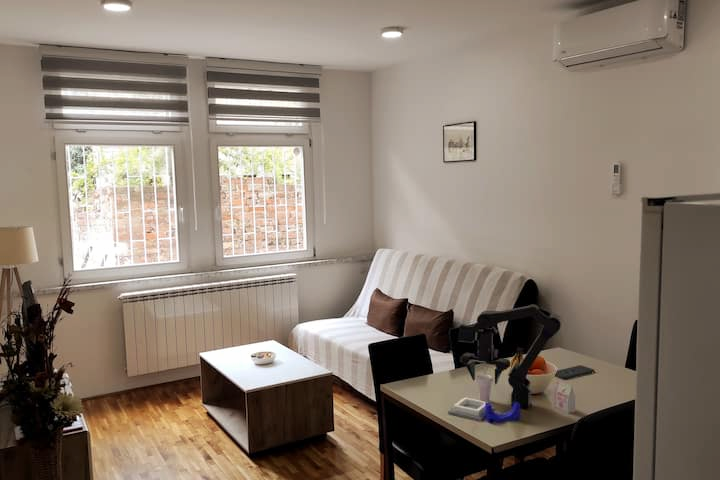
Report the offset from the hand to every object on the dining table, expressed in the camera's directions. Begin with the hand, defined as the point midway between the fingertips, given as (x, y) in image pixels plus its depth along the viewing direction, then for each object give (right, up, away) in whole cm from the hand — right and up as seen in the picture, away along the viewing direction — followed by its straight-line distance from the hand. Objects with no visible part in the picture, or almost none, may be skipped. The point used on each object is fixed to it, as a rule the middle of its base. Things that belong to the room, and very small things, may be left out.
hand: (484, 382), depth 234 cm
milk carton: (+29, -9, -8) cm, 31 cm away
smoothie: (0, -8, +1) cm, 8 cm away
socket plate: (-7, -9, -10) cm, 15 cm away
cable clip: (+3, -10, -18) cm, 20 cm away
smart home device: (+46, -5, +32) cm, 57 cm away
